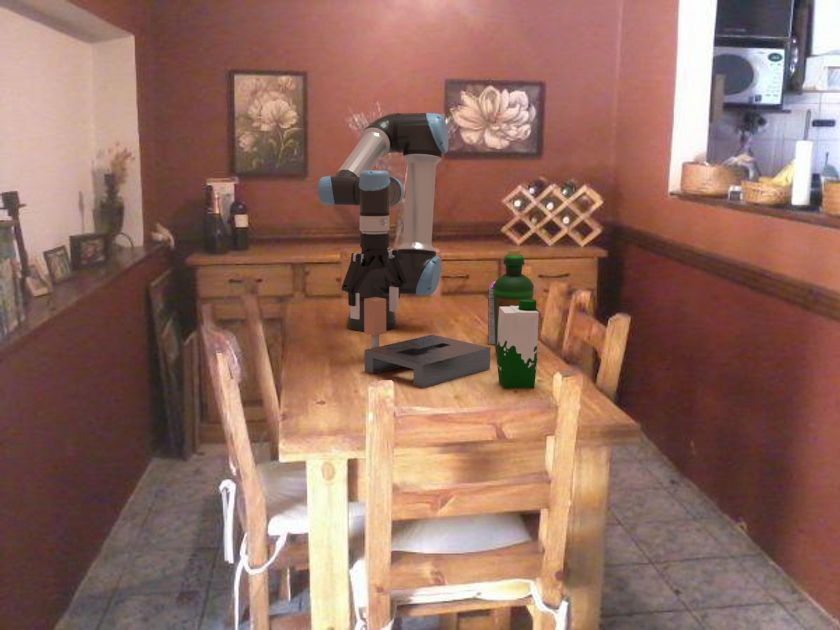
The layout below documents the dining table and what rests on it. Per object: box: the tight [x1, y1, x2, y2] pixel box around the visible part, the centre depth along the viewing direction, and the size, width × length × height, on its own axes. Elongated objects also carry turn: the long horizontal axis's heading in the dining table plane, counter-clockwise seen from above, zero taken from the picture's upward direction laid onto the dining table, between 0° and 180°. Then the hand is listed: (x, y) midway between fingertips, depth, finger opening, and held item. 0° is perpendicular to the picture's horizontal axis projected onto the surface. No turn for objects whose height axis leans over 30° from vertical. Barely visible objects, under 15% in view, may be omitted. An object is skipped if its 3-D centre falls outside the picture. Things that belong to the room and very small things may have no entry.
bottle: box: [493, 249, 535, 355], centre depth 221 cm, size 11×11×28 cm
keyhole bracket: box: [364, 334, 491, 389], centre depth 208 cm, size 20×24×6 cm
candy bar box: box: [487, 280, 496, 346], centre depth 238 cm, size 11×5×16 cm, turn 168°
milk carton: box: [496, 298, 540, 389], centre depth 195 cm, size 9×9×20 cm
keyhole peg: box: [363, 297, 387, 348], centre depth 217 cm, size 5×5×16 cm
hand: (374, 315), depth 216 cm, fingers open, 13 cm apart
